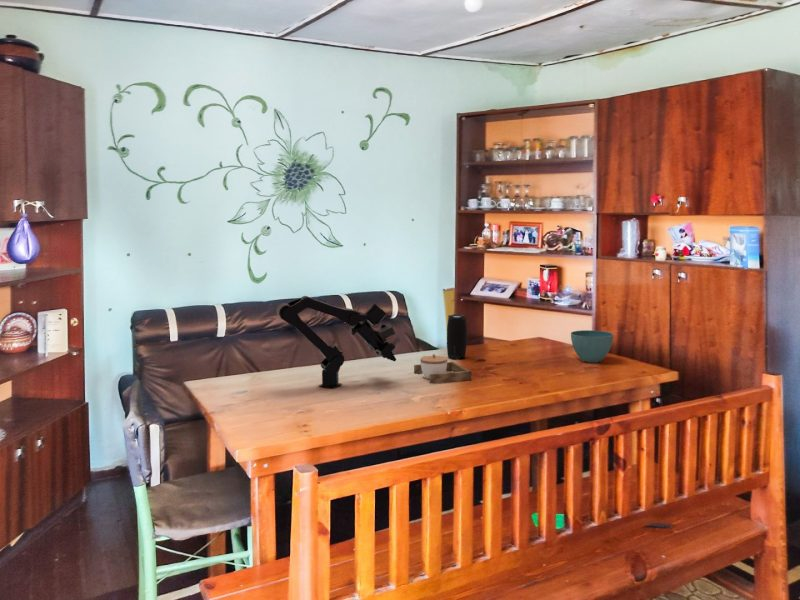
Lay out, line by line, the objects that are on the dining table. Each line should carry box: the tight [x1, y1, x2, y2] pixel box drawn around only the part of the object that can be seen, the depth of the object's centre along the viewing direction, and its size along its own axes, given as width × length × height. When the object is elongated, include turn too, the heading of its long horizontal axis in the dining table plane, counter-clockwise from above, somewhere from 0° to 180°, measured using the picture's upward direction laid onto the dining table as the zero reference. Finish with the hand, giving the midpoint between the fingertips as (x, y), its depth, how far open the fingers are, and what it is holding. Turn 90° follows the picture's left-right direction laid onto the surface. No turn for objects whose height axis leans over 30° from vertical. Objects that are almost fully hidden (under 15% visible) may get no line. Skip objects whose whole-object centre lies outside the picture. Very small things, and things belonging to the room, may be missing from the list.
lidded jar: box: [420, 353, 448, 380], centre depth 286 cm, size 11×11×9 cm
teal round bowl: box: [570, 329, 614, 363], centre depth 317 cm, size 18×18×12 cm
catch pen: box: [413, 361, 472, 384], centre depth 288 cm, size 17×18×4 cm
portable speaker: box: [446, 313, 468, 361], centre depth 322 cm, size 9×9×20 cm
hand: (395, 360), depth 280 cm, fingers closed
